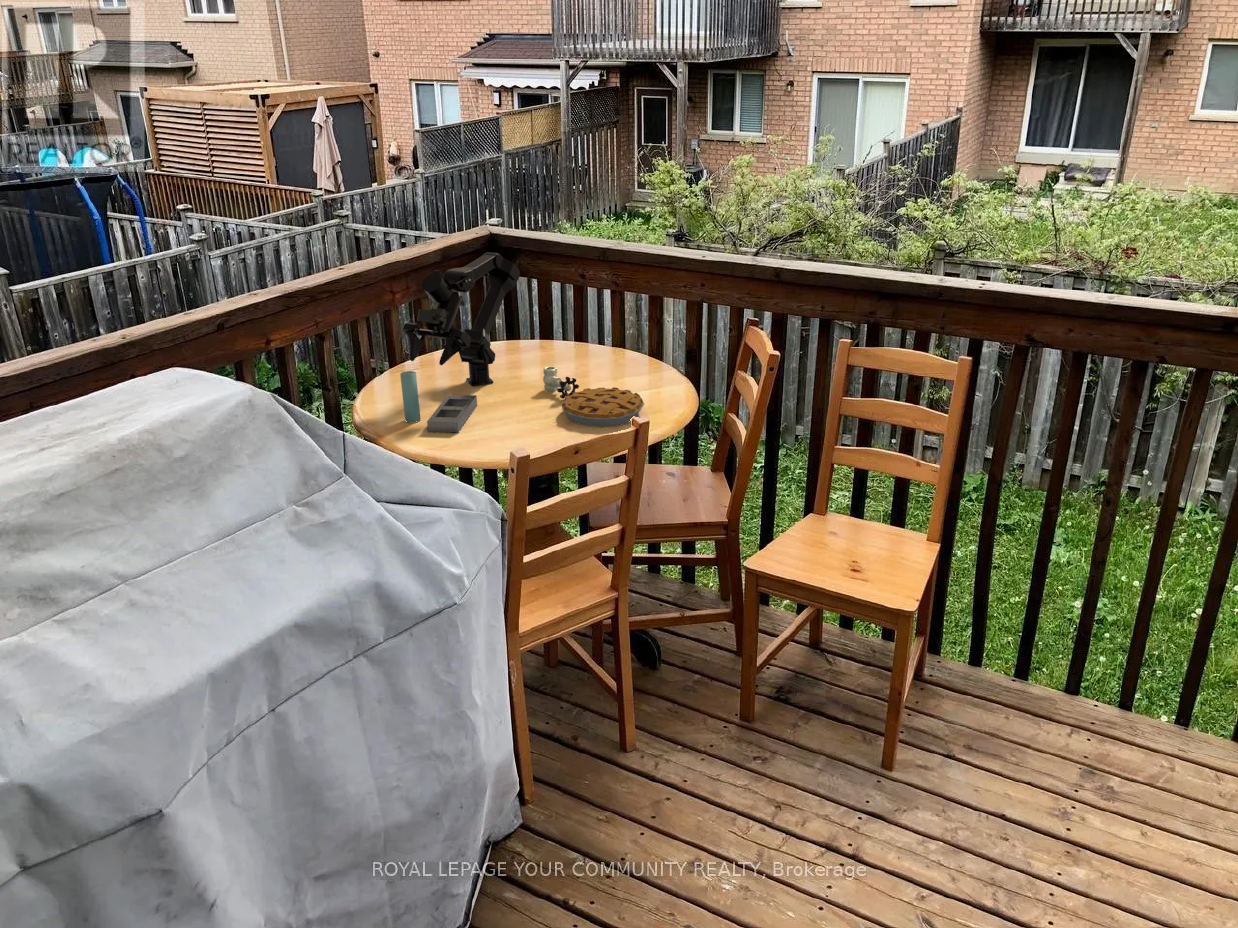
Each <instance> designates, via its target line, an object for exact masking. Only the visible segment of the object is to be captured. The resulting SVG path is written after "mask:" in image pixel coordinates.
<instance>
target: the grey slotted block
mask: <svg viewBox="0 0 1238 928" xmlns="http://www.w3.org/2000/svg"><path fill="white" fill-rule="evenodd" d="M477 407H478V399H477V395H474V394H473V395H470V394H447V395H446V397H445V398H444V399H443V400H442V402H441V403H440V404H439V406H437V408H436V409H435V411H433V413H432V415H430V417H429V418H428V420H427V421H426V422H427V423H426V424H427V425H426V426H427V432H428V433H435V432H456V433H455V434H459V433H460V432H461V431H462V429H463V428H464V426H465V425H466V423H467V422H468V420H469V419H470V417H471V416H472V414H473V413H474V411H475V409H477ZM470 415H471V416H470ZM468 418H469V419H468ZM466 421H467V422H466ZM464 424H465V425H464ZM462 427H463V428H462ZM459 431H460V432H459Z"/></svg>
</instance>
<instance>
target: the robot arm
mask: <svg viewBox="0 0 1238 928" xmlns="http://www.w3.org/2000/svg"><path fill="white" fill-rule="evenodd" d="M486 274H487V276H488V278H487V279H488V283H489V288H488V290H487V293H486V295H485V297H484V301H483V302H482V305H481V308H480V309H479V311H478V315H477V317H476V319H475V322H474V325H473V327H472V328H469V329H468V328H465V329H463V328H457V327H452V326H453V325H456V323H457V320H456V319H455V318H456V315H457V313H458V310H459V308H460V307H464V306H465V301H464V299H463V296H462V295H460V294H458V293H465V294H466V293H468V292H469V291H471V289H473V287H475V282H476V281H477V280H478V279H480V278H482V277H483V276H485V275H486ZM520 276H521V272H520V269H519V268H518V266H517V264H514V262H512V261H511V260H508V259H507V258H504V257H503V255H501V254H500V253H497V252H490V251H489V252H485V253H483V254H482V255H481V256H479V257H478V258H476V259H475V260H473V261H471V262H470V263H467V264H466V265H464V266H463V267H454V268H450V269H449V268H448V269H447V270H446V271H444V273H443V272H442V271H441V270H433V271H432V273H431V274H429V275H427V276H426V277H425V278H423V280H422V282H421V288H422V290H423V291H424V292H425V293H426V295H428V297H429V298H430V299H431V300H432V302H435V303H436V306H435V308H431V309H423V308H422V309H421V308H419V309H418V313H417V319H416V321H417V322H422V323H423V325H424V327H426V328H423V327H422V326H421V325H420V324H419V323H416V322H409V321H407V322H405V323H403V325H402V329H401V331H402V332H403V333H404V335H405V336H406V337H407V338H408V340H409V348H410V349H409V350H410V351H409V354H410V355H409V360H410V362H414V361H415V359H416V358H417V357H418V355H419V353H420V352H421V349H422V347H423V345H424V342H423V341H424V340H425V339H426V337H427V338H436V339H441V340H443V339H444V340H445V345H444V348H443V350H442V353H441V355H440V358H439V364H438V365H440V366H443V365H444V364H445V363H447V362H448V361H449V360H450V359H451V358H452V357H453V356H455V355H456V354H457V353H458V355H459V357H460V361H461V363H468V375H469V377H466V378H465V379H466V382H468V383H469V385H471V387H477V386H481V385H489V384H493V383H494V380H493V379H492V378H491V377H490V369H489V365H493V364H494V362H495V360H496V353H495V351H494V350H492V348H491V339H490V333H491V330H492V328H493V325H494V323H495V321H496V318H497V316H498V313H499V311H500V308H501V307H502V303H503V300H504V298H505V296H506V295H507V293H508V292H510V291H511V290H513V289H514V288H515V287H516V285H517V282H518V281H519V279H520Z"/></svg>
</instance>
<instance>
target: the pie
mask: <svg viewBox="0 0 1238 928" xmlns="http://www.w3.org/2000/svg"><path fill="white" fill-rule="evenodd" d="M560 405H561V409H562V411H563V412H564V413H565V415H566V417H567V419H568V420H569V421H571V422H572V423H575V424H578V425H583V426H584V427H585V426H586V427H593V428H613V427H614V428H615V427H620V426H623V425H626V424H629V423H630V422H629V421H630V419H631V418H632V417H633V416H636V417H637V416H638V415H639V413H640V411H642V408H643V407H644V406H645V403H644V400H643V398H642V397H641V395H640V394H639V393H637V392H635V393H633V392H632V391H631V390H630V389H623V390H622V389H619V387H615V386H614V387H612V388H606V387H596V388H590V387H588V388H587V387H586V388H583V390H580V391H575V392H572V395H571V396H565V398H564V399H563V401H562V403H561V404H560Z"/></svg>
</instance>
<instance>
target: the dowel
mask: <svg viewBox="0 0 1238 928" xmlns="http://www.w3.org/2000/svg"><path fill="white" fill-rule="evenodd" d="M400 384H401V392H402V401H403V411H404V420H406V421H407V422H416V421H419V422H420V421H421V420H420V419H422V418H421V410H420V409H421V408H420V401H419V390H418V389H419V388H418V381H417V372H416V371H414V370H413V371H412V370H407V371H402V372H400ZM407 422H406V423H407ZM416 423H417V422H416Z"/></svg>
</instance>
